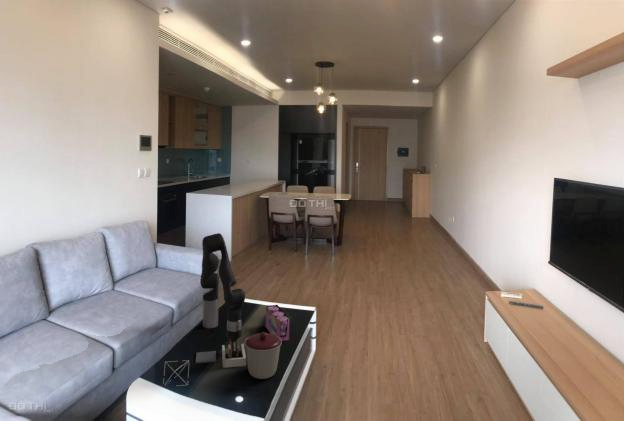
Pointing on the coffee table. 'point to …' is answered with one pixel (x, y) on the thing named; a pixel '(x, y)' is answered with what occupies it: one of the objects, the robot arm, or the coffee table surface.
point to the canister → (262, 354)
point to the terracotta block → (230, 351)
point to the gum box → (277, 322)
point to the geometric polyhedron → (176, 373)
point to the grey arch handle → (234, 359)
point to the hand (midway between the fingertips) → (233, 359)
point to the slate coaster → (206, 357)
